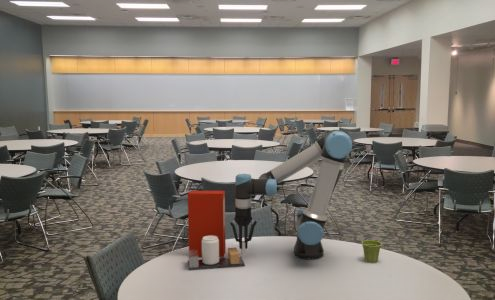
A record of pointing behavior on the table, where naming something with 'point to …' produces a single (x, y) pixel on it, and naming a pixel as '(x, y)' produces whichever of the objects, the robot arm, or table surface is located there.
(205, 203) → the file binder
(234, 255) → the block
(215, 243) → the beverage can
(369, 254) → the plant pot
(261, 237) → the table surface
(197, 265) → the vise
